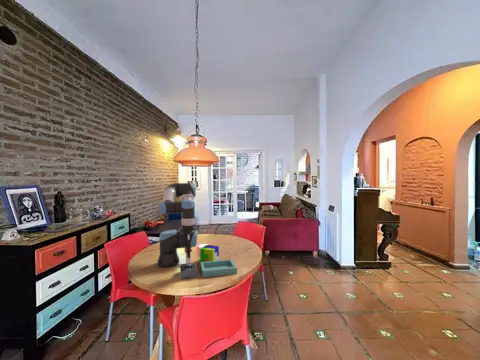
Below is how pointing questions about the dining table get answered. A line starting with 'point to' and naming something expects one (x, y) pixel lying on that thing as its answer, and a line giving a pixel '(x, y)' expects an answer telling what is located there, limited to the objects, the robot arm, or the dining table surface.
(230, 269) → the tray
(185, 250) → the pin
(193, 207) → the robot arm
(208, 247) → the puzzle toy
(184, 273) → the block
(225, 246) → the dining table surface
